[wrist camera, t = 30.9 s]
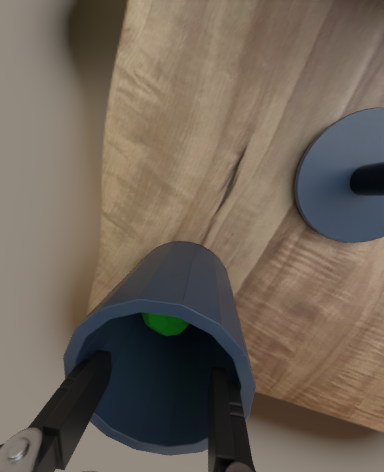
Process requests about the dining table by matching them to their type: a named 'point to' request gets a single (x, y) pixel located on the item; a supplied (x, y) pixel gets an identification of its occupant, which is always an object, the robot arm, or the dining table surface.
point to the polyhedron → (164, 324)
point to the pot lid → (345, 179)
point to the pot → (165, 350)
